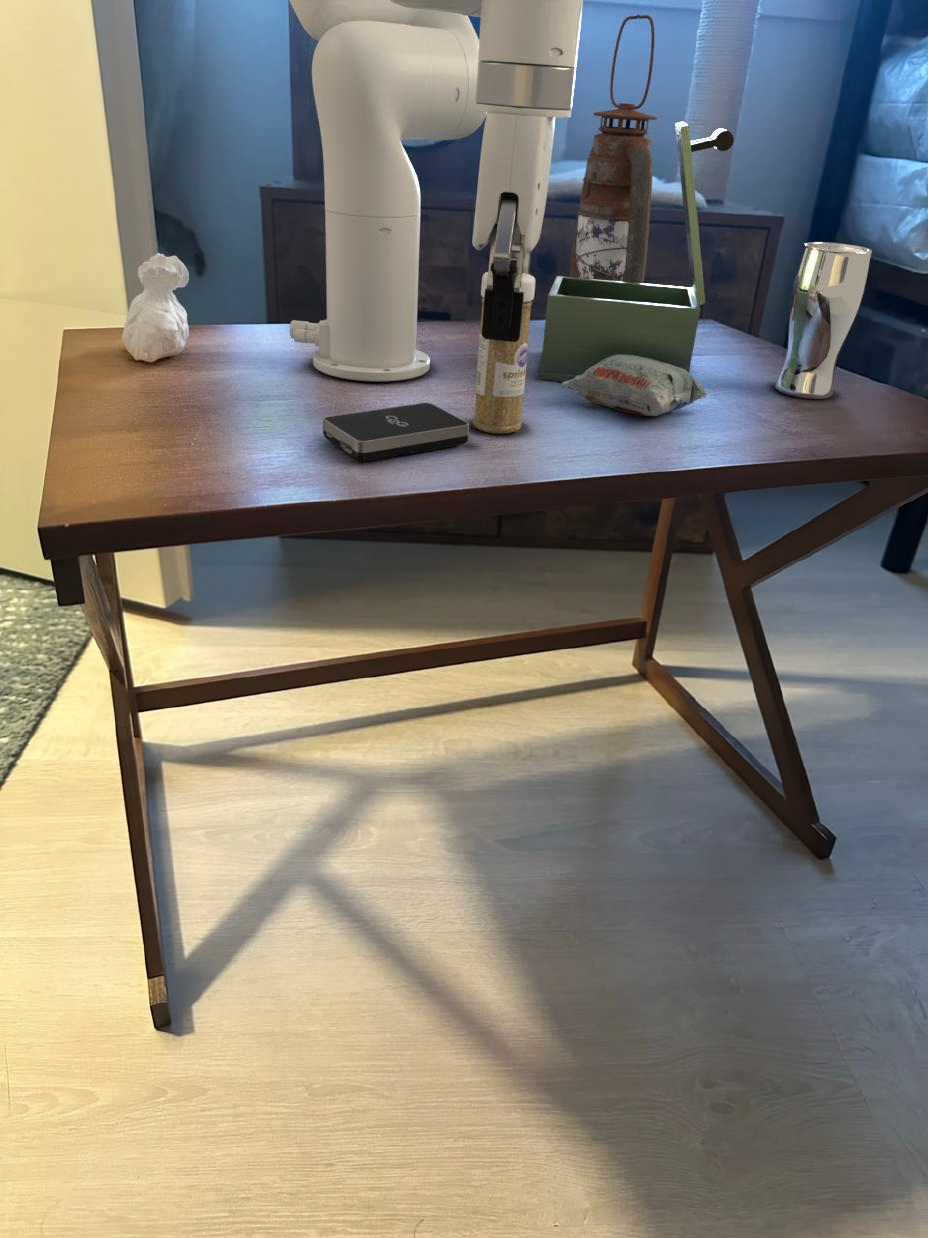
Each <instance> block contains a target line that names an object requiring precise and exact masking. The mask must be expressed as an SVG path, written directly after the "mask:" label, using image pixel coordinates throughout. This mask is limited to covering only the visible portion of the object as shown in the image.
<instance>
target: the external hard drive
mask: <svg viewBox="0 0 928 1238" xmlns="http://www.w3.org/2000/svg"><path fill="white" fill-rule="evenodd" d="M469 430H470V423H469V422H468V421H466V420H464V419H462V418H460V417H459V416H457V415H455V414H453V413H451V412H449V411H447V410H445V409H443V408H441V407H439V406H438V405H436V404H433V403H431V402H419V403H412V404H406V405H399V406H391V407H385V408H377V409H369V410H364V411H357V412H349V413H342V414H335V415H328V416H324V417H322V434H323V437H324V438H325V439H326V440H327V441H329V442H331V443H332V444H333V445H335V446H336V447H338V448H339V449H341V450H343V451H344V452H346V453H347V454H348V455H350V456H351V457H353V458H354V459H356V460H357V461H359V462H368V461H374V460H380V459H386V458H391V457H398V456H403V455H410V454H416V453H419V452H420V453H421V452H427V451H433V450H439V449H443V448H444V449H445V448H450V447H455V446H461V445H465V444H466V443H467V442H468V440H469V433H470V431H469Z"/></svg>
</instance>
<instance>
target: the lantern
mask: <svg viewBox="0 0 928 1238" xmlns="http://www.w3.org/2000/svg"><path fill="white" fill-rule="evenodd" d="M637 19H639V20H642V19H643V20H644V19H647V20H648V21H649V24H650V28H651V29H650V30H651V33H650V34H651V38H650V39H651V42H650V43H651V45H650V60H649V67H648V76H647V81H646V87H645V92H644V94H643V97H642V100H641V102H640V103H639V104H638V105H636V104H635V103H622V102H619V103H618V104H617V103H616V101H615V98H614V78H615V77H614V76H615V69H616V62H617V57H618V50H619V45H620V41H621V36H622V34H623V31H624V28H625V25H626V24H627V22H628V21H630V20H637ZM654 23H655V22H654V20H653V18H652V16H650V15H648V14H642V15H640V14H639V13H638V14H636V15H629V16H627V17H626V18H624V19H623V20H622V23H621V26H620V28H619V30H618V35H617V39H616V43H615V47H614V53H613V58H612V66H611V73H610V83H609V84H610V85H609V95H610V96H609V97H610V101H611V103H612V105H613V106H614V107H615V108H617V109H610V110H603V111H595V112H593V116H595V117H601V118H600V119H601V120H600V126H599V127H598V128H597V129H598V131H600V132H601V133H597V134H594V135H593V142H592V147H591V150H590V152H589V155H588V157H587V158H586V166H585V173H584V177H583V178H582V179H583V180H582V181H583V182H582V189H581V194H580V198H579V203H578V204H579V205H578V211H577V216H576V221H575V228H574V232H573V240H572V246H571V254H570V263H569V277H576V278H587V279H598V280H609V281H620V282H632V283H643V284H645V283H644V282H645V275H646V269H647V257H648V247H649V235H650V219H651V205H652V190H653V157H652V153H651V149H650V148H651V143H652V139H651V138H649V137H647V136H645V135H648V134H649V133H650V132H649V131H648V128H649V121H657V120H658V117H657V116H654V115H651V114H648V113H644V112H641V111H637V110H639V109H640V108H642V106H644V104H645V102H646V100H647V97H648V93H649V90H650V85H651V79H652V73H653V66H654V57H655V56H654V55H655V25H654ZM608 119H609V121H608ZM614 120H618V121H617V126H614ZM624 121H625V126H623V125H624ZM632 121H635V127H631V122H632ZM645 125H646V126H645ZM609 221H614V222H615V223H614V225H613V223H612V224H611V222H609ZM611 226H613V231H611V232H609V234H610V235H612V236H609V235H608V234H607V233H605V231H604V229H607V228H608V227H611ZM595 228H596V229H598V228H599V230H601V231H602V233H600V234H598V237H597V236H596V237H595V236H594V230H595ZM618 263H620V264H619V265H618ZM611 264H616V266H615V267H616V268H615V269H613V267H610V266H611ZM595 266H596V267H598V268H599V269H598V268H596V267H595ZM601 267H603V268H601ZM593 270H594V271H597V272H594V271H593ZM616 278H617V279H616Z"/></svg>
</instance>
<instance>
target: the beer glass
mask: <svg viewBox="0 0 928 1238" xmlns="http://www.w3.org/2000/svg"><path fill="white" fill-rule="evenodd" d="M872 252H873V250H872V249H871V248H868V247H864V246H860V245H856V244H855V245H854V244H848V243H847V244H846V243H838V242H827V241H826V242H825V241H811V242H806V243H804V248H803V252H802V255H801V258H800V262H799V264H798V269H797V271H796V275H795V279H794V283H793V287H792V293H791V297H790V298H791V299H790V306H789V321H788V337H787V339H788V340H787V348H786V349H787V350H786V355H785V360H784V364H783V366H782V369H781V371H780V374H779V376H778V378H777V381H776V383H775V389H776V390H777V391H778V392H779V393H781V394H783V395H787V396H790V397H795V398H800V399H806V400H825V399H829V398H830V397H832V396H833V393H834V382H835V372H836V366H837V362H838V359H839V356H840V353H841V351H842V348H843V346H844V345H845V341H846V339H847V337H848V335H849V332H850V330H851V329H852V326H853V323H854V321H855V319H856V317H857V313H858V312H859V309H860V305H861V302H862V300H863V295H864V293H865V287H866V284H867V279H868V274H869V268H870V261H871V257H872Z"/></svg>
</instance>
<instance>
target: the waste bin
mask: <svg viewBox="0 0 928 1238" xmlns="http://www.w3.org/2000/svg"><path fill="white" fill-rule="evenodd" d="M545 312H546V313H545V323H544V332H543V341H542V342H543V343H542V352H541V361H540V373H539V380H541V381H551V382H552V381H553V382H562V383H563V382H565V381H569V380H573V379H574V378H575V377H577V376H578V375H582V374H583V373H584V372H585V371H586V370H588V369H589V368H590V367H592V366H594V365H595V364H597V363H599V362H600V361H602V360H603V359H606V358H609V357H611V356H614V355H617V354H623V355H634V356H640V357H645V358H650V359H654V360H657V361H660V362H663V363H667V364H670V365H673V366H676V367H679V368H682V369H685V370H686V371H687V372H688V373H689V374H690V369H691V364H692V363H691V362H692V358H693V353H694V348H695V342H696V335H697V331H698V324H699V321H700V313H701V308H700V305H697V302H696V299H695V296H694V292H693V289H692V287H686V286H675V285H665V284H664V285H663V284H653V283H632V282H620V281H609V280H598V279H587V278H576V277H570V276H565V275H564V276H563V275H556V276H555V278H554V281H553V283H552V286H551V288H550V290H549V292H548V295H547V302H546V311H545Z"/></svg>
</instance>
